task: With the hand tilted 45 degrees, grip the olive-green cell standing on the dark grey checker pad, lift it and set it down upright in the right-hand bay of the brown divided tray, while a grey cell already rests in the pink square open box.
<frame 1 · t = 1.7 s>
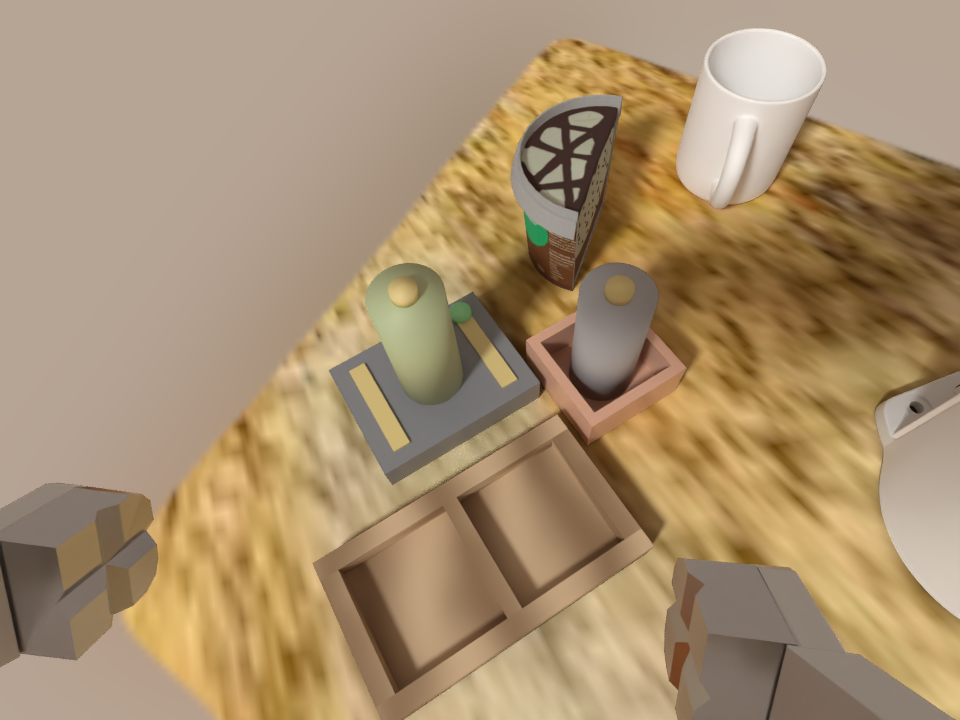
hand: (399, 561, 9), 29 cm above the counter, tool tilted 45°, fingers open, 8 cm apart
mug: (717, 189, 50), on the counter
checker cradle: (437, 390, 43), on the counter
pink square open box: (599, 376, 42), on the counter
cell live: (432, 376, 41), point 2 cm above the counter, touching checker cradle
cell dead: (599, 372, 42), point 1 cm above the counter, touching pink square open box
brown divided tray: (483, 560, 37), on the counter
food container: (552, 239, 49), on the counter
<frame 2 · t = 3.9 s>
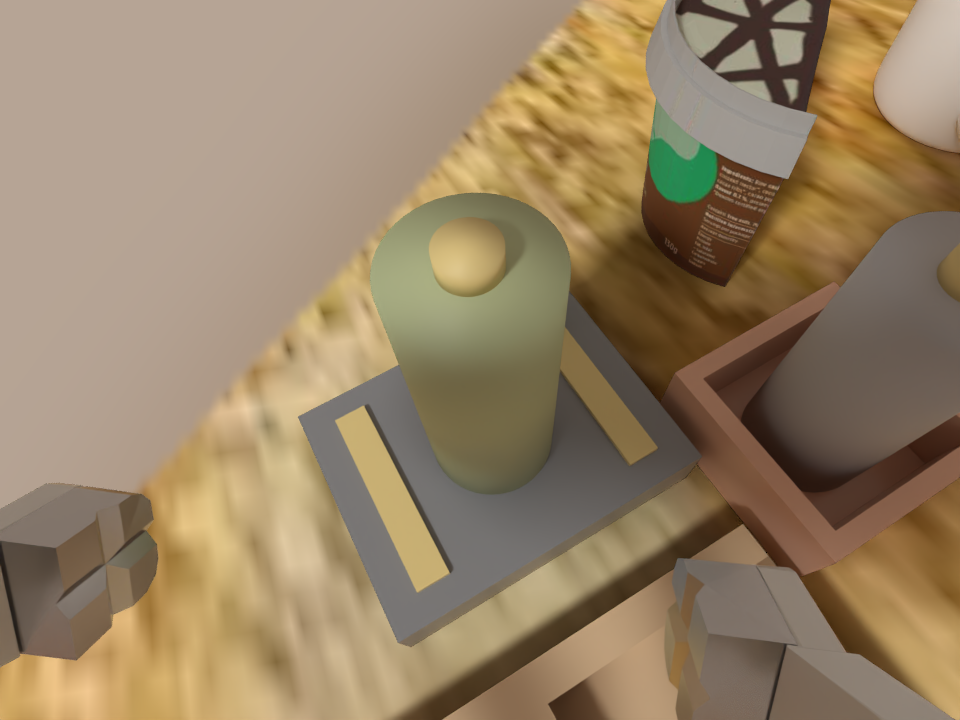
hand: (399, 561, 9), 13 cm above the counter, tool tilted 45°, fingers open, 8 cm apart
mug: (945, 131, 31), on the counter
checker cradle: (494, 457, 24), on the counter
pink square open box: (793, 442, 23), on the counter
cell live: (491, 435, 22), point 2 cm above the counter, touching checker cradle
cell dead: (800, 436, 23), point 1 cm above the counter, touching pink square open box
food container: (680, 202, 30), on the counter
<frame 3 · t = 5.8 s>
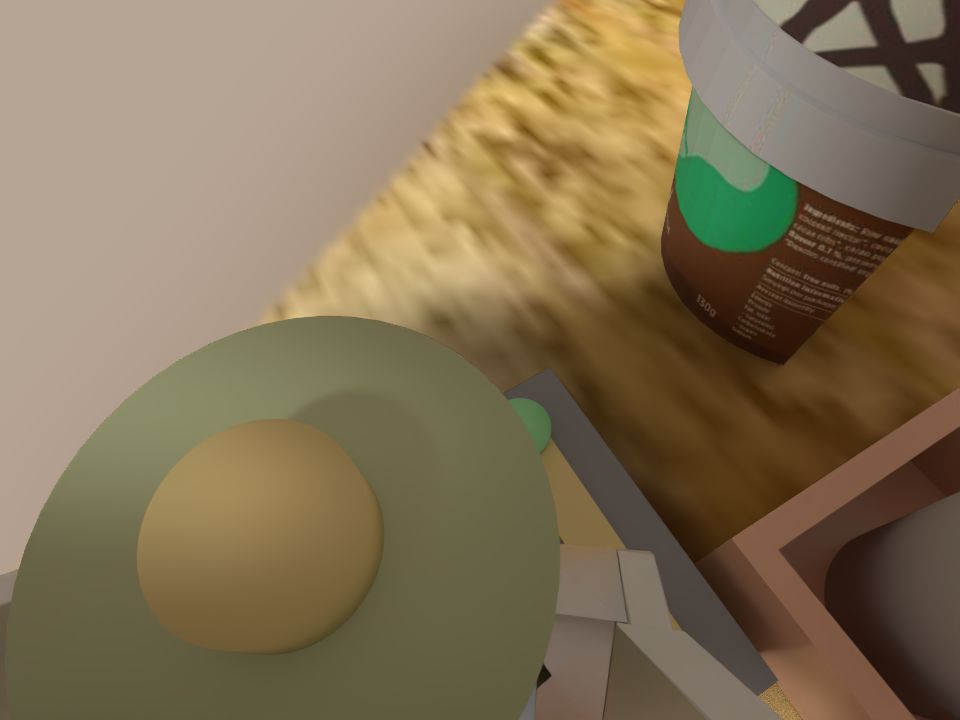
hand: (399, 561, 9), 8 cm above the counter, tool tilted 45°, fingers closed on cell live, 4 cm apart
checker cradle: (448, 640, 16), on the counter
pink square open box: (904, 620, 15), on the counter
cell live: (437, 634, 13), point 2 cm above the counter, touching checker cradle, gripper
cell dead: (918, 618, 15), point 1 cm above the counter, touching pink square open box
food container: (713, 239, 22), on the counter
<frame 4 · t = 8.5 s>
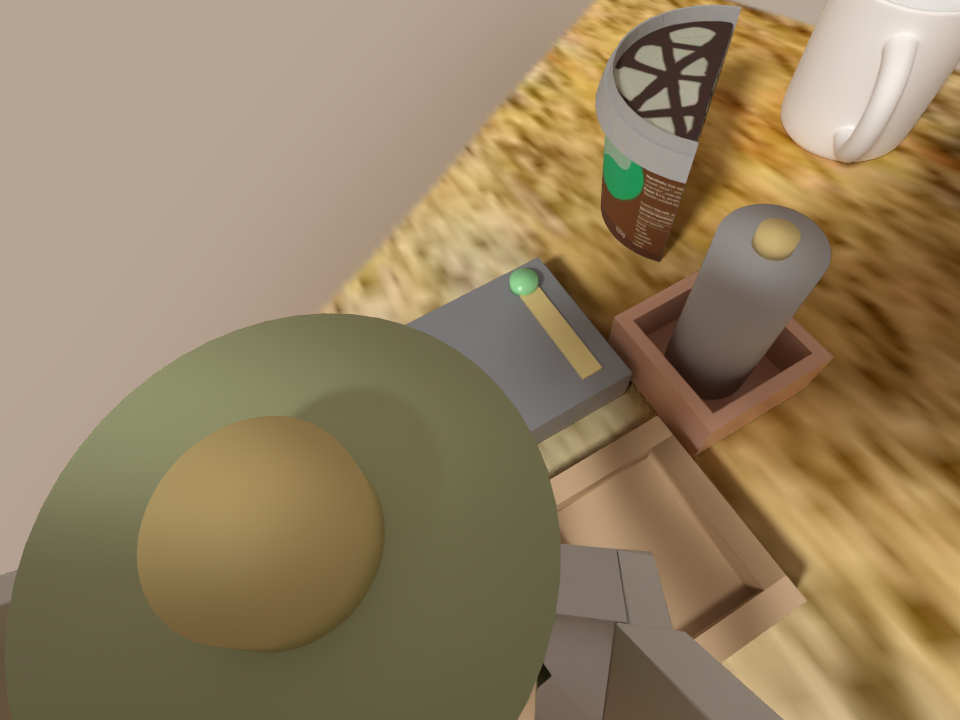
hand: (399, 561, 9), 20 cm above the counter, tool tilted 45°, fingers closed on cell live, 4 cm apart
mug: (833, 144, 41), on the counter
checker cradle: (490, 382, 33), on the counter
pink square open box: (702, 368, 33), on the counter
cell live: (438, 633, 13), point 15 cm above the counter, touching gripper
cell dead: (704, 363, 32), point 1 cm above the counter, touching pink square open box
brown divided tray: (560, 611, 27), on the counter
food container: (630, 199, 39), on the counter
when the fingers open (7 cm above the counter, at t = 11.4 s): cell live stays where it is, resting on brown divided tray.
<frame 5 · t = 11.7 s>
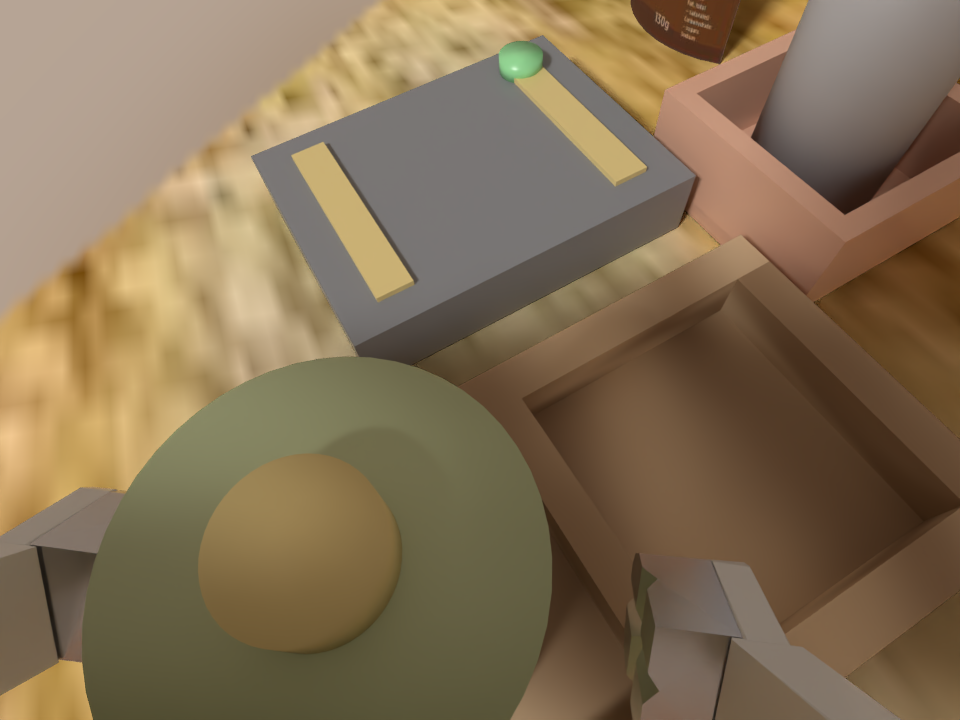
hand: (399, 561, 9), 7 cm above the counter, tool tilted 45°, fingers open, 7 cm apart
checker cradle: (469, 215, 22), on the counter
pink square open box: (795, 193, 21), on the counter
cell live: (442, 635, 14), point 1 cm above the counter, touching brown divided tray
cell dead: (802, 180, 21), point 1 cm above the counter, touching pink square open box
brown divided tray: (580, 552, 16), on the counter
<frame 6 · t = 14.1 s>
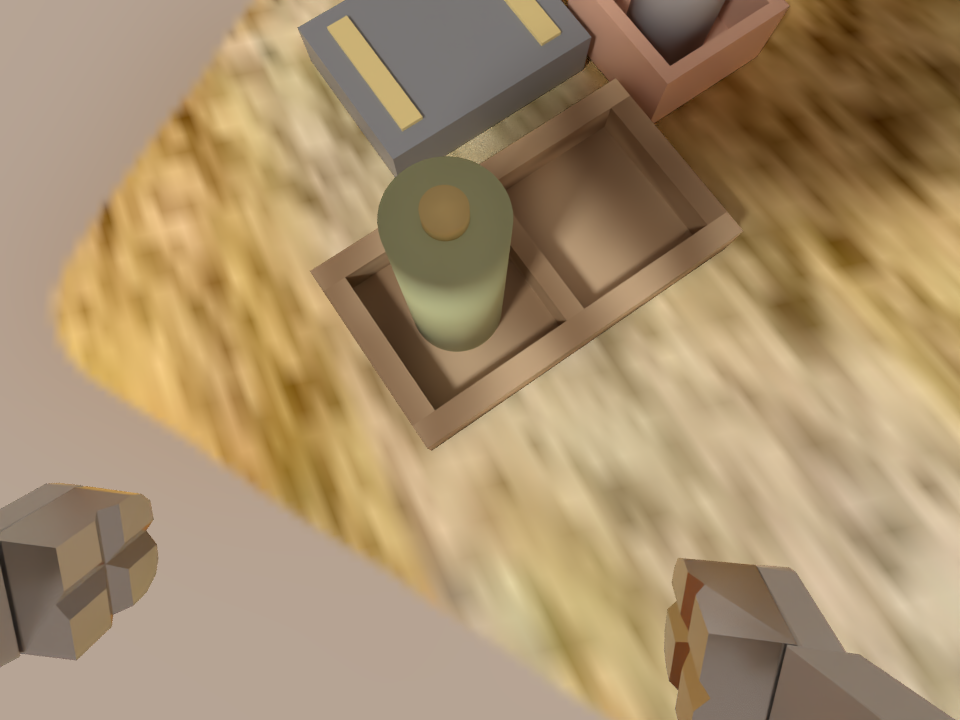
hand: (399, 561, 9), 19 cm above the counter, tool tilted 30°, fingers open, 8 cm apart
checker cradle: (446, 64, 32), on the counter
pink square open box: (659, 41, 32), on the counter
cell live: (457, 308, 29), point 1 cm above the counter, touching brown divided tray
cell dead: (662, 33, 32), point 1 cm above the counter, touching pink square open box
brown divided tray: (524, 267, 30), on the counter
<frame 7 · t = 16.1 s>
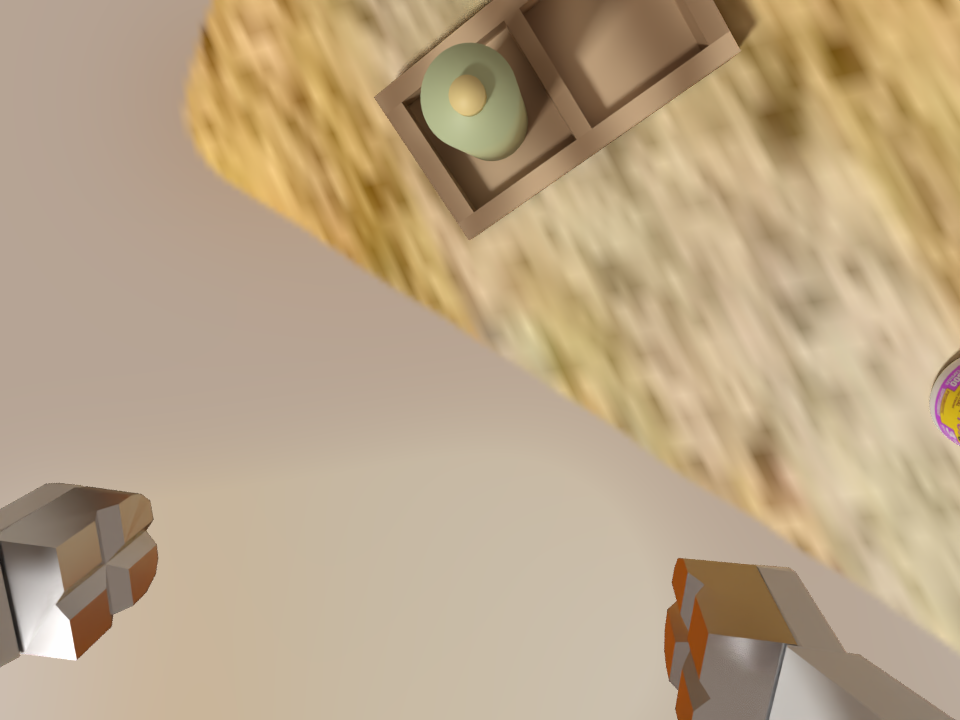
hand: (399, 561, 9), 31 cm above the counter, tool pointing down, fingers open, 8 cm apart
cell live: (491, 123, 36), point 1 cm above the counter, touching brown divided tray
brown divided tray: (549, 82, 35), on the counter
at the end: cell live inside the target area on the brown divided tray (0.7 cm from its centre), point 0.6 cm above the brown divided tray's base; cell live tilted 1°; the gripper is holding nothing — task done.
